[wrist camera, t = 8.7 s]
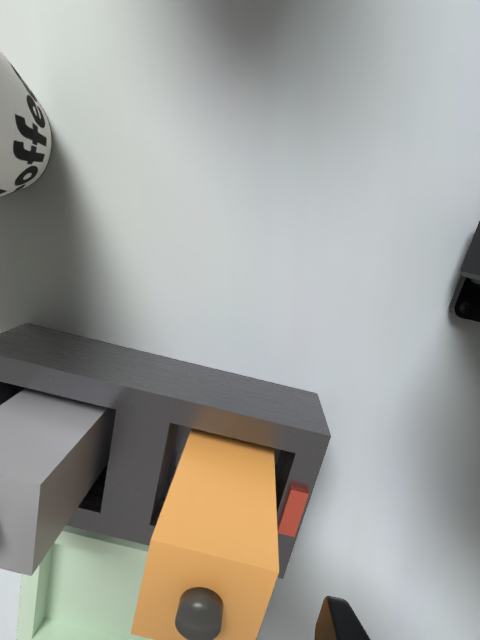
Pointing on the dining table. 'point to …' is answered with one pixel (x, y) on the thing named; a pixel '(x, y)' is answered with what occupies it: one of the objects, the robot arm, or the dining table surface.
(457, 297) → the robot arm
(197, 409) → the strip
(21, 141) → the cup
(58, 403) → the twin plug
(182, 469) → the plug
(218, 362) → the dining table surface
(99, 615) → the tray
